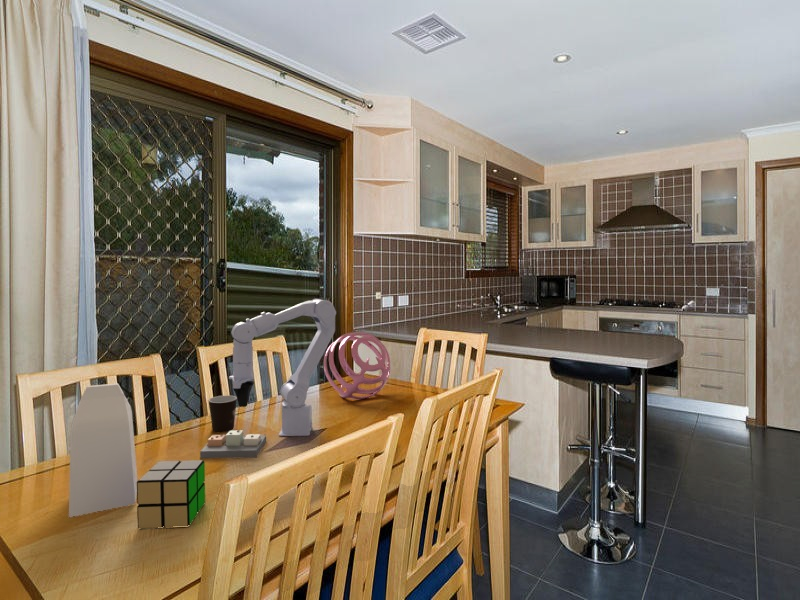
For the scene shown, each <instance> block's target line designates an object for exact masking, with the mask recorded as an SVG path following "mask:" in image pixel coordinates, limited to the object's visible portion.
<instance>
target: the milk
mask: <svg viewBox="0 0 800 600" xmlns="http://www.w3.org/2000/svg"><path fill="white" fill-rule="evenodd" d="M69 441H70V445H69V447H70V449H69V450H70V451H69V485H68V486H69V492H68V493H69V494H68V495H69V496H68V518H69V517H70V518H74V517H73V516H75V517H80V516H84V515H83V514H85V515H88V513H90V514H93V513H92V512H96V513H98V512H97V511H101V512H104V511H103V510H106V511H108V510H107V509H111V510H113V509H112V508H116V509H118V508H117V507H121V508H123V507H122V506H126V507H129V506H128V505H132V506H134V505H133V504H135V505H136V503H137V481H138V470H137V458H136V446H135V445H136V443H135V432H134V422H133V411H132V406H131V404H130V403H129V400H128V399H127V397H126V396H125V393H124V391H123V389H122V388H121V386H120V383H118V382H117V383H107V384H104V383H103V384H95V385H93V384H92V385H87V386H86V387H85V389H84V392H83V393H82V395H81V398H80V399H79V402H78V406H77V408H76V412H75V414H74V417H73V420H72V423H71V428H70V440H69ZM135 502H136V503H135ZM79 515H80V516H79Z"/></svg>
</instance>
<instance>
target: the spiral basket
mask: <svg viewBox="0 0 800 600" xmlns="http://www.w3.org/2000/svg"><path fill="white" fill-rule="evenodd" d="M357 336H361V337H357ZM349 341H353V343H352V344H351V349H350V351H351V357H352V359H353V361H354V363H355V364H356V365H357V367H359V368H360V372H359V373H357V372H355V371H354V370H353V369H352V368H351V366H350V365H349V363H348V362H347V359H346V355H345V348H346V345H347V343H348V342H349ZM338 343H340V344H339V347H338V360H339V364H340V366H341V368H342V369H343V371H344V372H345V374H346V375H347V376H349V377H350V378H351V379H352V380H353V382H349V383H348V382H347V381H346V380H345V379H344V378H343V377H342V376H341V375H340V374H339V372H338V369H337V367H336V365H335V361H334V353H335V348H336V346H337V344H338ZM361 344H362V345H364V346H366V347H368V348H369V349H370V350H371V351H372V352H373V353H374V354H375V355H376V356H375V359H376V361H377V363H376V364H370V362H369V361H370V357H368V358H367V359H366V361H364V360H363V359H362V358H361V357H360V355H359V351H358V350H359V346H360V345H361ZM373 344H375V345H376V346H377V347H378V348H377V347H376V346H374V345H373ZM378 349H379V350H380V351H379V350H378ZM324 353H325V354H324V357H323V370H324V374H325V376H326V379H327V381H328V382H329V384H330V385H331V387H333V388H334V390H335V391H337V393H338V394H339V396H340V397H341V398H343V399H353V400H366V399H365V398H367V399H370V398H372V397H374V396H375V395H376V394H378V393H379V392H380V391H382V389H383V388H384V387H385V385H386V384H387V382H388V380H389V377H390V374H391V358H390V353H389V351H388V349H387V348H386V346H385V344H384V343H383V342H382V341H381V340H380V339H379V338H377V337H376V336H374V335H373V334H369V333H368V332H367V333H366V332H358V331H357V332H355V331H353V332H347V333H345V334H342V335H340V336H339V337H338V338H336V339H335V340H334V341H333V342H331V344H330V345H329V346H328V347H327V348H326V350H325V352H324ZM327 359H328V360H327ZM327 361H328V362H327ZM327 363H329V368H330V371H331V373H332V376H333V377H334V379H335V380H337V382H338V383H339V384H340V387H339V386H338V385H337V384H336V383H335V382H334V380H333V379H332V377H331V376H330V373H329V370H328V364H327ZM386 364H387V365H386ZM379 370H381V375H379V376H377V377H374V378H373V377H371V378H368V377H366V376H365V373H367V372H371V373H372V372H373V373H374V372H378V371H379ZM378 383H380V384H379V386H377V387H375V388H371V389H370V388H369V389H365V388H363V387H359V386H360V385H361V384H362V385H376V384H378ZM344 389H346V391H345V390H344ZM371 393H373V394H371ZM353 394H358V395H365V396H357V395H353ZM369 397H370V398H369Z"/></svg>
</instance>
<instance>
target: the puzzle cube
mask: <svg viewBox="0 0 800 600" xmlns="http://www.w3.org/2000/svg"><path fill="white" fill-rule="evenodd" d="M205 462H206V461H205V460H203V459H199V460H197V459H194V460H192V459H191V460H182V461H181V460H159V461H158V462H156V463H155V464H154V465H153V466H152V467H151V468H150V469H149V470H148V471H147V472H146V473H145V474H143V476H141V477H140V478H139V479H137V494H136V503H137V506H136V507H137V508H136V510H137V515H136V516H137V529H139V528H155V529H159V528H158V527H163V526H164V527H163V528H165V527H173V526H188V525H190V523H191V522H192V520H193V519H194V518H195V519H196V517H197V516H198V514H197V512H199V513H200V511H201V510H202V508H203V507H204V505H205V504H204V503H206V483H205V481H206V473H205V471H206V469H205V468H206V467H205V466H206V465H205ZM203 504H204V505H203ZM202 506H203V507H202ZM201 507H202V508H201ZM200 509H201V510H200ZM199 510H200V511H199ZM196 515H197V516H196ZM195 516H196V517H195ZM195 519H194V520H195ZM194 520H193V521H194ZM192 523H193V522H192ZM192 523H191V524H192ZM190 526H191V525H190Z"/></svg>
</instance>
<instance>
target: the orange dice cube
mask: <svg viewBox="0 0 800 600" xmlns="http://www.w3.org/2000/svg"><path fill="white" fill-rule="evenodd" d="M207 443H208V446H223V445H224V444H225V443H226V434H212V435H211V436H210V437H209V438H207Z"/></svg>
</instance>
